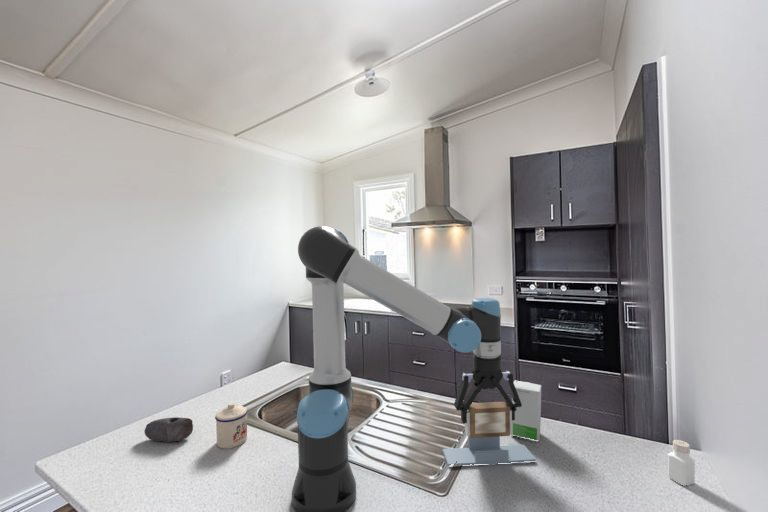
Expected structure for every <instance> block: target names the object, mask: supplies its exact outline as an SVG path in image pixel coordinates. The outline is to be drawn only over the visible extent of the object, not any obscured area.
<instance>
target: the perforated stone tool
mask: <svg viewBox="0 0 768 512" xmlns="http://www.w3.org/2000/svg"><path fill="white" fill-rule="evenodd" d="M193 430H194V425H193V420H192V418H187V417H179V416H178V417H176V416H175V417H165V418H160V419H155V420H152V421H150V422H149V423H147V424H146V425H145V428H144V435H145V437H146V438H148V439H149V440H151V441H156V442H157V441H159V442H160V443H161V442H162V443H163V442H164V443H172V442H182V441H183V440H185V439H188V438H189V436H190V435H191V434H192V433H193Z"/></svg>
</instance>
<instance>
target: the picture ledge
mask: <svg viewBox="0 0 768 512" xmlns="http://www.w3.org/2000/svg"><path fill="white" fill-rule="evenodd" d="M467 443H468V445H467V447H454V448H452V447H451V448H442V454H443V457H444V459H445V462H447V463H446V464H448V465H447V467H448V466H449V465H451V464H455V463H456V461H457V463H456V464H462V465H470V464H472V465H474V464H498V463H511V462H524V461H536V462H537V459H536V457H535V456H534V455H533V454H532V452H531V451H530V450H529V449H528V448H527V446H526V445H525V444H512V445H511V444H509V445H501V436H499V437H481V438H470V436H467Z"/></svg>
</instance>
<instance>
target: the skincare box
mask: <svg viewBox="0 0 768 512" xmlns="http://www.w3.org/2000/svg"><path fill="white" fill-rule="evenodd" d="M513 383H514V385H515V388H516V391H517V393H518V396H519V399H520V401H521V404H522V406H521V407H517V410H516V411H515V420H513V421H512V434H510V436H511V435H515V436H519V437H525V438H530V439H534V440H539V441H540V437H541V420H542V417H541V416H542V415H541V414H542V385H541V384H537V383H532V382H528V381H519V380H517V379H516V380H513ZM511 401H512V402H513V398H512V397H511Z"/></svg>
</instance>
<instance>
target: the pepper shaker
mask: <svg viewBox="0 0 768 512" xmlns="http://www.w3.org/2000/svg"><path fill="white" fill-rule="evenodd" d="M690 448H691V446H690V443H688V442H686V441H683V440H680V439H674V440H673V441H672V450H673V451H670V452H669V453H668V454H667V477H668V476H669V477H670V478H672V479H673V480H672V479H671V480H672V481H674V480H675V481H677V482H678V483H677V482H676V483H677V484H679V483H680V484H681V485H680V484H679V485H680V486H682V485H683V487H687V486H691V485H694V484H695V481H696V479H695V469H696V467H695V465H696V464H695V462H696V461H695V459H694V458H693V457H691V456H690V454H691V453H690V450H691V449H690ZM669 477H668V478H669ZM670 478H669V479H670ZM675 481H674V482H675ZM690 484H691V485H690ZM686 485H687V486H686Z"/></svg>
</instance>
